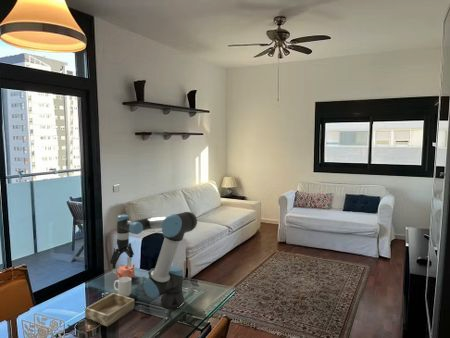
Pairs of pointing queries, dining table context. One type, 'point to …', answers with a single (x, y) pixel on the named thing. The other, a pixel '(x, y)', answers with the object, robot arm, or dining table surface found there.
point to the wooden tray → (109, 309)
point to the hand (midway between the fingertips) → (122, 269)
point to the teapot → (126, 271)
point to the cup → (123, 286)
